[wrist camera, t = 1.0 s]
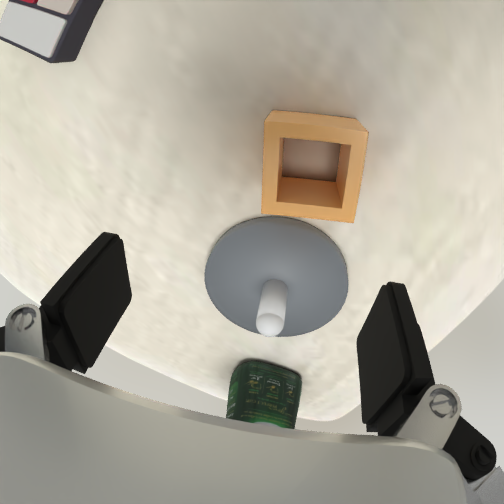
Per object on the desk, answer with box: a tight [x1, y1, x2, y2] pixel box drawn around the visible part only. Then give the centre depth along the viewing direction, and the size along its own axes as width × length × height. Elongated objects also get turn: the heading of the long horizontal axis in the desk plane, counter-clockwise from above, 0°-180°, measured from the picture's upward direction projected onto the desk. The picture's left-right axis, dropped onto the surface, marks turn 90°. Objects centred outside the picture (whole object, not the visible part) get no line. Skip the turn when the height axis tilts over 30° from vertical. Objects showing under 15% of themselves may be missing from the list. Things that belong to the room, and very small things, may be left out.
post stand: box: [205, 217, 348, 337], centre depth 28 cm, size 14×14×7 cm
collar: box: [261, 110, 369, 223], centre depth 22 cm, size 6×6×5 cm
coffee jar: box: [226, 361, 302, 429], centre depth 34 cm, size 10×8×19 cm
